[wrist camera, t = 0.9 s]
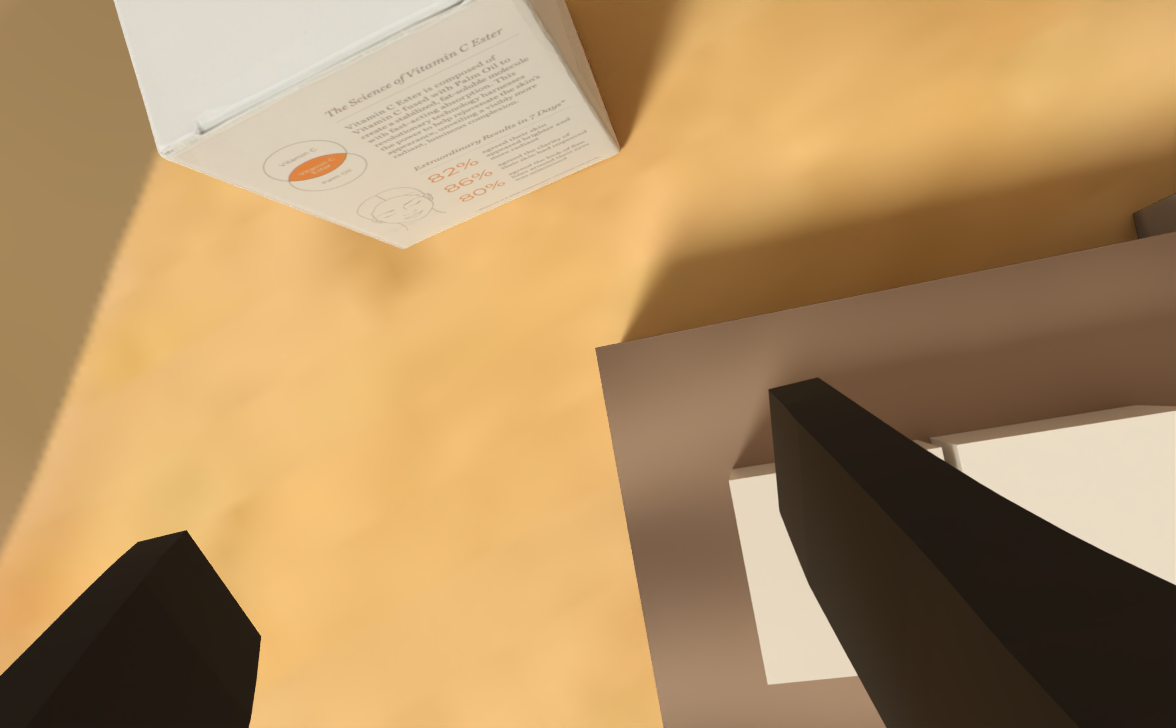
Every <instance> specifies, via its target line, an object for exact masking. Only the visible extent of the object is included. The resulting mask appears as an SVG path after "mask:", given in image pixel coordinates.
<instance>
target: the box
mask: <svg viewBox="0 0 1176 728" xmlns="http://www.w3.org/2000/svg"><path fill="white" fill-rule="evenodd" d="M1133 216H1134V220H1135V224H1136V228H1137V233H1138V237H1139V239H1142V238H1147V237H1152V236H1157V235H1162V234H1167V233H1172V232H1176V193H1175V194H1173V195H1171V196H1169V197H1167V198H1165V199H1162V200H1160V201H1158V202H1156V203H1154V204H1152V205H1150V206H1148V207H1145V208H1143V209H1141V210H1139V211H1137V212H1135V213H1133Z"/></svg>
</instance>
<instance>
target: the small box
mask: <svg viewBox="0 0 1176 728" xmlns="http://www.w3.org/2000/svg"><path fill="white" fill-rule="evenodd" d="M114 3H115V6H116V9H117V13H118V17H119V20H120V23H121V27H122V30H123V33H124V37H125V40H126V44H127V47H128V50H129V53H130V57H131V60H132V64H133V67H134V70H135V73H136V77H137V80H138V84H139V87H140V90H141V94H142V97H143V100H144V104H145V107H146V111H147V114H148V117H149V121H150V125H151V128H152V132H153V135H154V139H155V143H156V146H157V150H158V152H159V154H160V155H161V156H162V157H163V158H164V159H167V160H169V161H172V162H175V163H177V164H180V165H183V166H185V167H188V168H190V169H193V170H196V171H198V172H201V173H204V174H206V175H209V176H211V177H214V178H216V179H219V180H222V181H224V182H227V183H229V184H232V185H235V186H237V187H240V188H243V189H245V190H248V191H251V192H253V193H256V194H259V195H261V196H263V197H266V198H269V199H271V200H274V201H276V202H279V203H282V204H285V205H288V206H290V207H292V208H295V209H298V210H300V211H303V212H306V213H309V214H312V215H314V216H317V217H319V218H322V219H324V220H327V221H330V222H333V223H335V224H338V225H341V226H343V227H346V228H349V229H351V230H354V231H356V232H359V233H362V234H365V235H367V236H370V237H373V238H375V239H378V240H380V241H383V242H386V243H388V244H391V245H393V246H396V247H399V248H401V249H405V248H408V247H410V246H412V245H414V244H416V243H418V242H421V241H423V240H425V239H427V238H429V237H431V236H434V235H436V234H438V233H441V232H443V231H445V230H447V229H449V228H452V227H454V226H456V225H458V224H461V223H463V222H465V221H468V220H470V219H472V218H474V217H476V216H479V215H481V214H483V213H485V212H488V211H490V210H492V209H494V208H497V207H499V206H501V205H503V204H506V203H508V202H510V201H513V200H515V199H517V198H519V197H522V196H524V195H526V194H528V193H531V192H533V191H535V190H537V189H540V188H542V187H544V186H546V185H548V184H551V183H553V182H555V181H557V180H559V179H562V178H564V177H566V176H568V175H570V174H573V173H575V172H577V171H580V170H582V169H584V168H586V167H589V166H591V165H593V164H596V163H598V162H600V161H602V160H605V159H607V158H610V157H612V156H615V155H616V154H618V153H619V152H620V146H619V143H618V141H617V138H616V135H615V133H614V130H613V128H612V125H611V122H610V120H609V117H608V114H607V111H606V109H605V106H604V103H603V101H602V98H601V95H600V93H599V90H598V87H597V85H596V82H595V79H594V77H593V74H592V71H591V69H590V66H589V63H588V61H587V58H586V55H585V53H584V50H583V47H582V45H581V42H580V39H579V37H578V34H577V31H576V29H575V26H574V23H573V21H572V18H571V15H570V13H569V10H568V7H567V5H566V2H565V0H114Z"/></svg>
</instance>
